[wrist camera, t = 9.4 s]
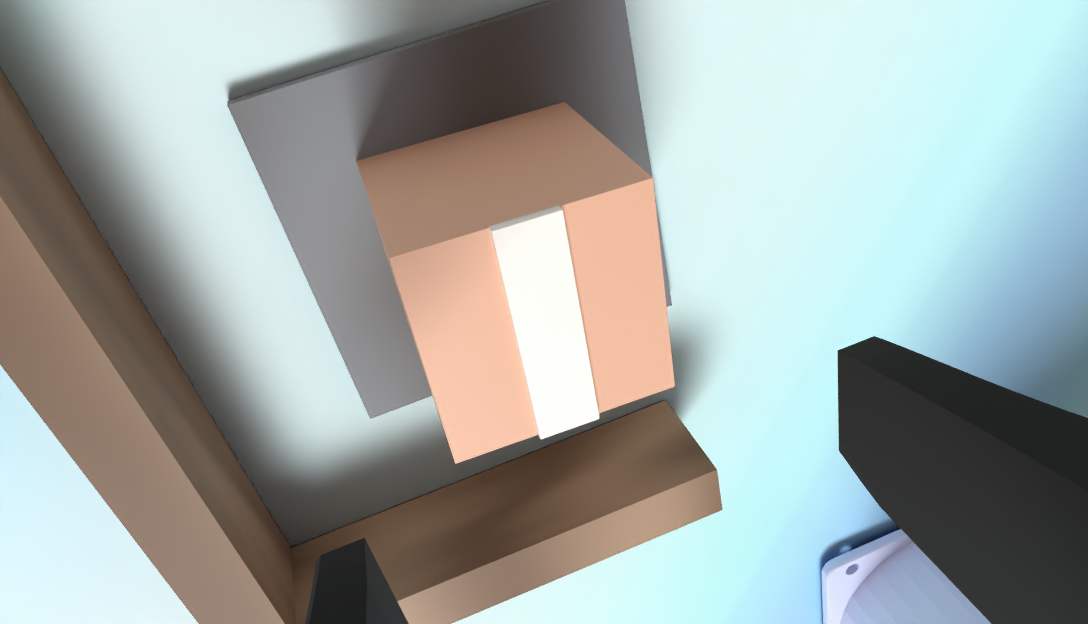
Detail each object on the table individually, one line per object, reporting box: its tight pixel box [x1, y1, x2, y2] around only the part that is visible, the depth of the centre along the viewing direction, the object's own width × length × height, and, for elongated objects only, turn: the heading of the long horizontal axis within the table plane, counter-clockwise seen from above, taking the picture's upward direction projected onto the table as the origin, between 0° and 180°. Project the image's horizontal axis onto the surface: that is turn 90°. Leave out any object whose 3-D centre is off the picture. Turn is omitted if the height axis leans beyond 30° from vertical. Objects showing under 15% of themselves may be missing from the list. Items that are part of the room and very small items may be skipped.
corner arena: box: [0, 0, 722, 624], centre depth 17 cm, size 13×18×3 cm
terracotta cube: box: [356, 102, 675, 464], centre depth 16 cm, size 4×4×5 cm
